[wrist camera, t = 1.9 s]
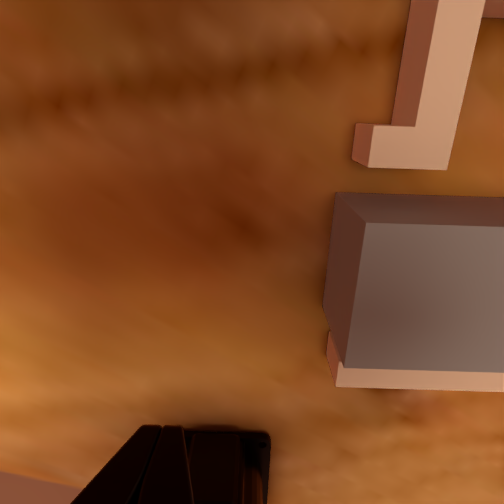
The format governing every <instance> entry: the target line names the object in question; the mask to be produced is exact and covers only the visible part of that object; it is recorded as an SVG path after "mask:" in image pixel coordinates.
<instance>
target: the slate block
mask: <svg viewBox="0 0 504 504" xmlns="http://www.w3.org/2000/svg"><path fill="white" fill-rule="evenodd" d="M322 306H323V309H324V312H325V315H326V318H327V321H328V324H329V327H330V330H331V332H332V335H333V338H334V341H335V344H336V347H337V350H338V353H339V356H340V358H341V361H342V364H343V367H344V368H357V369H391V370H425V371H459V372H493V373H504V198H501V197H470V196H439V195H407V194H376V193H345V192H336V194H335V203H334V211H333V220H332V228H331V237H330V246H329V254H328V263H327V271H326V280H325V288H324V297H323V305H322Z"/></svg>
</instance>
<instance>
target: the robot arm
mask: <svg viewBox="0 0 504 504" xmlns="http://www.w3.org/2000/svg"><path fill="white" fill-rule="evenodd" d="M270 450H271V439H270V436H269V435H267V434H265V433H240V432H207V431H183V427H182V426H180V425H165V426H163V428H162V426H161V425H149V424H145V425H142V426H141V427H140V428H139V429H138V430H137V431H136V432H135V433H134V434H133V435H132V436H131V438H130V439H129V440H128V441H127V442H126V443H125V444H124V445H123V446H122V447H121V449H120V450H119V451H118V452H117V453H116V454H115V455H114V456H113V457H112V458H111V459H110V461H109V462H108V463H107V464H106V465H105V466H104V467H103V468H102V469H101V470H100V472H99V473H98V474H97V475H96V476H95V477H94V478H93V479H92V480H91V481H90V483H89V484H88V485H87V486H86V487H85V488H84V489H83V490H82V491H81V492H80V494H79V495H78V496H77V497H76V498H75V499H74V500H73V501H72V502H71V504H267V493H268V479H269V464H270Z"/></svg>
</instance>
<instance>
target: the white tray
mask: <svg viewBox="0 0 504 504" xmlns="http://www.w3.org/2000/svg"><path fill="white" fill-rule="evenodd" d="M481 18H504V0H411V5H410V11H409V17H408V23H407V29H406V35H405V41H404V48H403V54H402V60H401V66H400V72H399V78H398V84H397V90H396V96H395V103H394V109H393V115H392V121H391V124H364V123H356V127H355V134H354V142H353V150H352V158H351V159H352V160H354V161H356V162H358V163H360V164H362V165H364V166H366V167H369V168H399V169H429V170H447V167H448V162H449V158H450V154H451V149H452V145H453V141H454V136H455V132H456V127H457V123H458V119H459V114H460V110H461V105H462V101H463V97H464V92H465V88H466V83H467V79H468V75H469V70H470V66H471V62H472V57H473V53H474V48H475V44H476V40H477V35H478V31H479V26H480V22H481ZM326 356H327V360H328V363H329V367H330V370H331V373H332V377H333V380H334V384H335V387H357V388H389V389H422V390H454V391H487V392H504V373H493V372H459V371H425V370H391V369H357V368H344V367H343V364H342V361H341V358H340V356H339V353H338V350H337V347H336V344H335V341H334V338H333V335H332V332H331V331H329V335H328V342H327V350H326Z"/></svg>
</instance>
